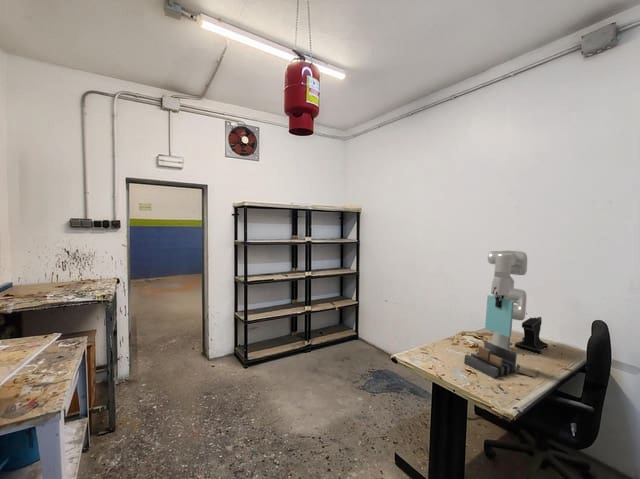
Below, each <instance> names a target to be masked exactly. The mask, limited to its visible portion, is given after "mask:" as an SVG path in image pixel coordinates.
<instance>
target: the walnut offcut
mask: <svg viewBox="0 0 640 479" xmlns="http://www.w3.org/2000/svg"><path fill="white" fill-rule="evenodd" d="M478 355H479V356H481V357H483V358H485V359H487V360H490V350H488V349H486V348H484V346H482V345H480V346H478Z"/></svg>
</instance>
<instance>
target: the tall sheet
mask: <svg viewBox="0 0 640 479" xmlns="http://www.w3.org/2000/svg"><path fill="white" fill-rule="evenodd" d="M486 300H487V301H486V312H485V322H484V323H485V325H484V329H485V330H488V331H491V332H493V333H494V332H496V333H499V334H501V335H504V336H507V337H510V338H512V330H513V328H512V327H513V319H512V318H513V306H514V305H515V303H514V301H511V300H507V299H503V298H501V301H502V305H501V308H498V307H495V302H496V300H495V297H493V295H492V294H491V295H490V294H487V299H486Z"/></svg>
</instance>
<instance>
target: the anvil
mask: <svg viewBox="0 0 640 479" xmlns="http://www.w3.org/2000/svg"><path fill="white" fill-rule="evenodd" d="M541 325H542V316H539V317H536V316H535V317H529V318H528V319H525V320H523V321H522V322H521V328H522V329H523V334H524V335H523V337H521V341H517V342H514V348H516V349H520V350H522V351H525V350H526V352H529V351H530V353H532V352H533V354H535V353H537V354H536V355H539V354H540V356H542V352H543V350H542V349H544V348H547V347H548V348H549V343H546V342H544V341H543V340H541V339H540V333H541V328H542V326H541ZM548 348H547V349H548ZM544 350H545V349H544Z"/></svg>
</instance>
